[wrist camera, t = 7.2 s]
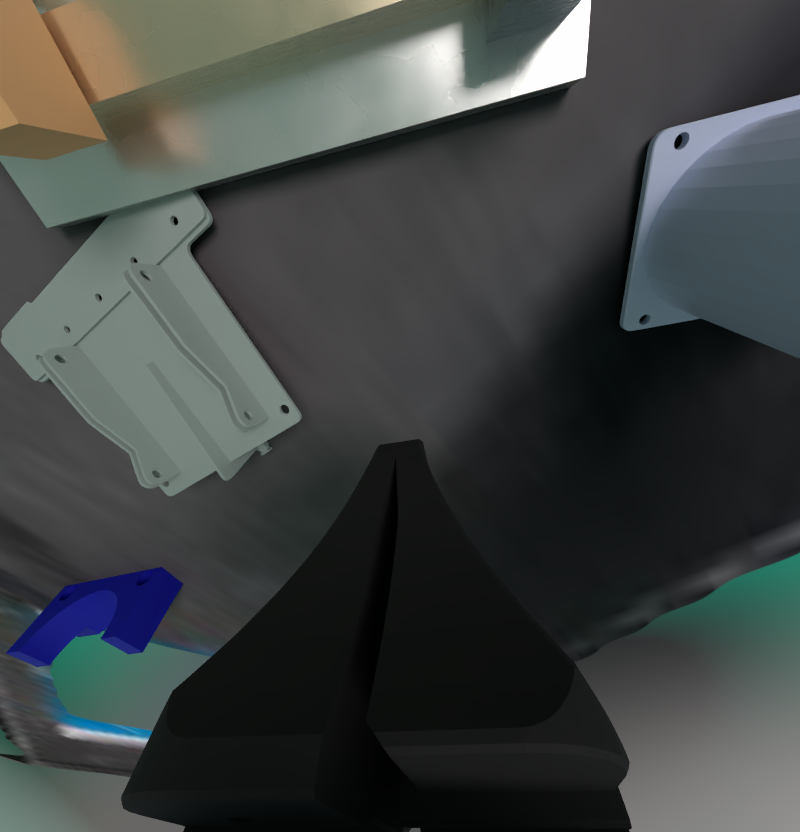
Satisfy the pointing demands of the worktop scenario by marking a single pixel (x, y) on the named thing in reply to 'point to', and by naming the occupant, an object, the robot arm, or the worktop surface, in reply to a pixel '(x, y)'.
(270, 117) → the plate
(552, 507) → the worktop surface
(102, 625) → the cable clip
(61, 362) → the metal bracket
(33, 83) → the block
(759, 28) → the worktop surface
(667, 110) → the worktop surface
